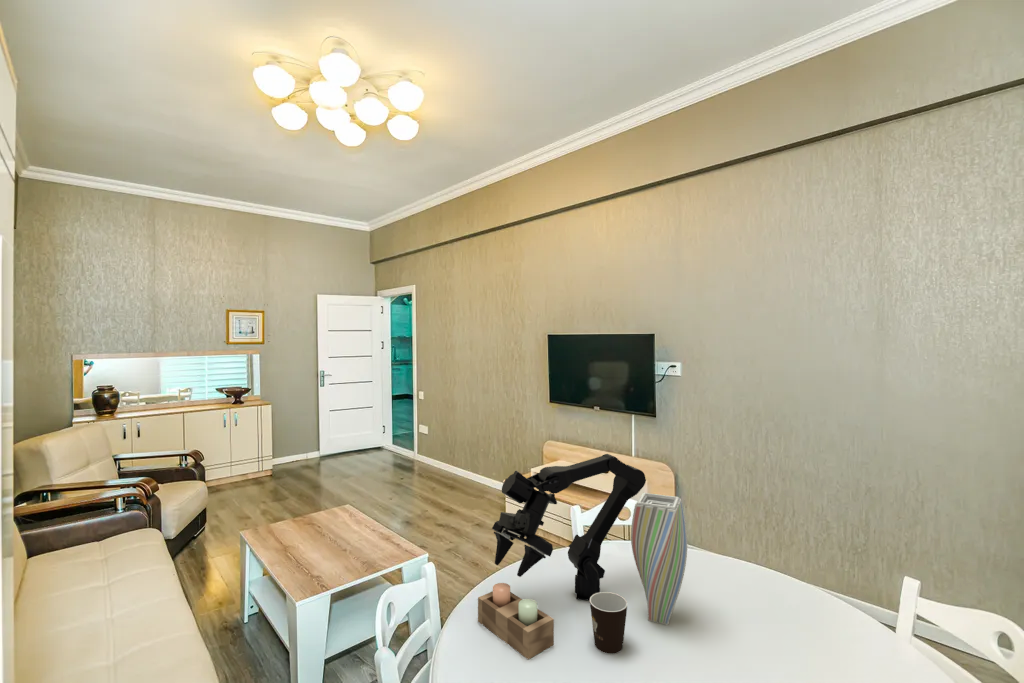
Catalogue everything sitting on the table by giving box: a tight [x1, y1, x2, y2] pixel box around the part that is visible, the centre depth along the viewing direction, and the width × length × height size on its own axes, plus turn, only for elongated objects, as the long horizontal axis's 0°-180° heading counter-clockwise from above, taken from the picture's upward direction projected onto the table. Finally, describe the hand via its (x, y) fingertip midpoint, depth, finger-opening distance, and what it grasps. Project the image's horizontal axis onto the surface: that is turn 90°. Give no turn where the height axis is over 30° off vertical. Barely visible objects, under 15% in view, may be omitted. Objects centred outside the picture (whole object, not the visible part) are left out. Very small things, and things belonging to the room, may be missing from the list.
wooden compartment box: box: [477, 590, 555, 660], centre depth 114 cm, size 8×19×6 cm, turn 40°
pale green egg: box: [519, 598, 538, 626], centre depth 110 cm, size 4×4×5 cm
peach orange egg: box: [492, 582, 511, 608], centre depth 118 cm, size 4×4×5 cm
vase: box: [630, 492, 688, 626], centre depth 120 cm, size 14×14×30 cm
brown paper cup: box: [589, 591, 628, 655], centre depth 111 cm, size 12×9×10 cm
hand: (507, 570), depth 119 cm, fingers open, 9 cm apart
